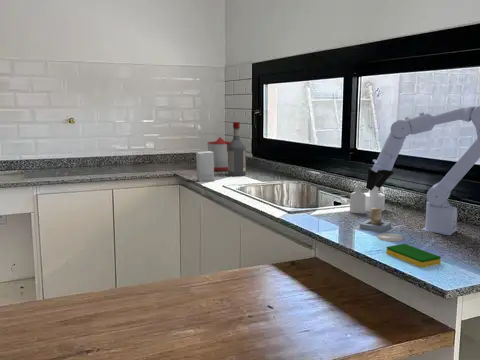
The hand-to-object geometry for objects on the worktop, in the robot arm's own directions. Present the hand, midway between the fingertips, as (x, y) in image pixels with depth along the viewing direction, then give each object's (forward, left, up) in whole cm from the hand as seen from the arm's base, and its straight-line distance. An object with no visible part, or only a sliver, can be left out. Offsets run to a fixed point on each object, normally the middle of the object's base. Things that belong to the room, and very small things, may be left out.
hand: (373, 188), depth 178 cm
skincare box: (+107, -34, -13) cm, 113 cm away
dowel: (-4, +6, -12) cm, 14 cm away
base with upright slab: (+8, -21, -13) cm, 26 cm away
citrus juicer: (+124, -68, -13) cm, 142 cm away
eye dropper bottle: (+10, -11, -13) cm, 20 cm away
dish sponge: (-25, +30, -13) cm, 41 cm away
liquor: (+104, -57, -13) cm, 120 cm away
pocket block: (-4, +6, -13) cm, 15 cm away
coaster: (-13, +15, -13) cm, 24 cm away
